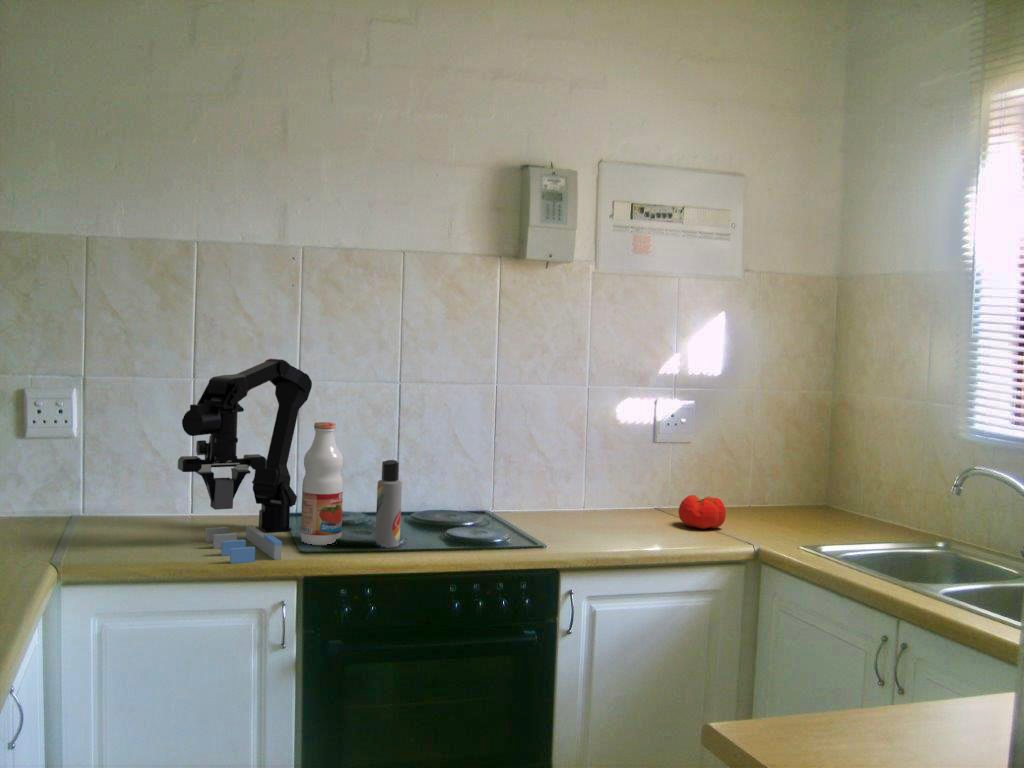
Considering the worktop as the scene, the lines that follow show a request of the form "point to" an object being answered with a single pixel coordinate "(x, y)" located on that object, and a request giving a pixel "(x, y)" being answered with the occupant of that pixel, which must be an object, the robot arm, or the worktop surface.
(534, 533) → the worktop surface
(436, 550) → the worktop surface
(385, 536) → the lotion bottle
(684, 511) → the tomato
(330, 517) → the fruit juice
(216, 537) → the grey and blue blocks
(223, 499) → the dark grey rectangular block
